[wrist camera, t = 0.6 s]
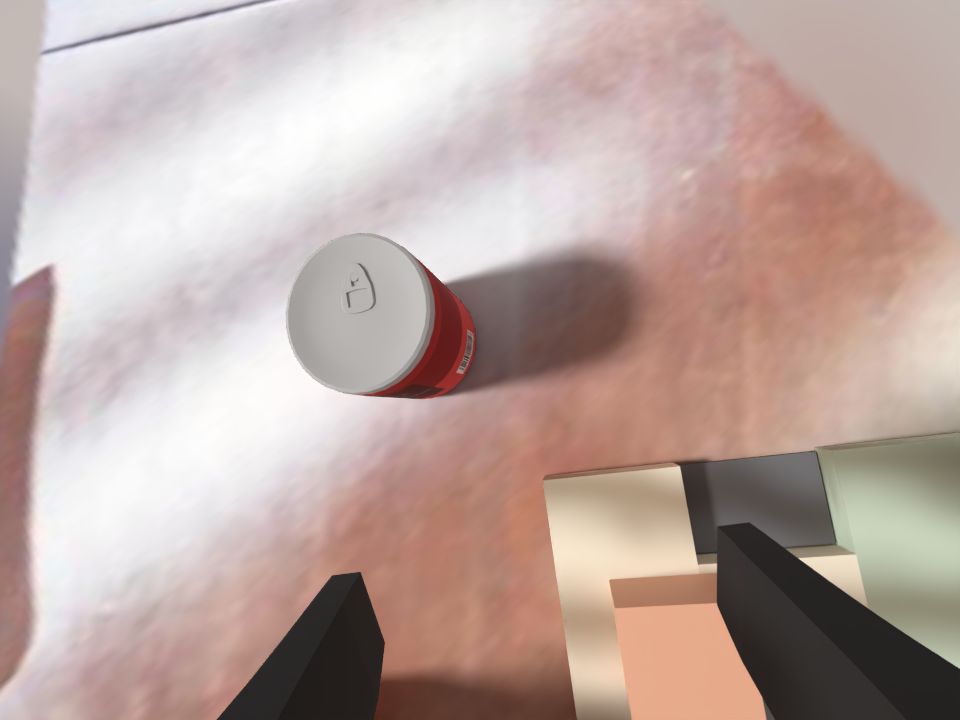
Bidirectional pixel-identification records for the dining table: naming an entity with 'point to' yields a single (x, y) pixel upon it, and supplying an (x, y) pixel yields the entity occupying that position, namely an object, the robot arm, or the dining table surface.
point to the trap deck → (779, 514)
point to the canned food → (377, 321)
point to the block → (680, 651)
